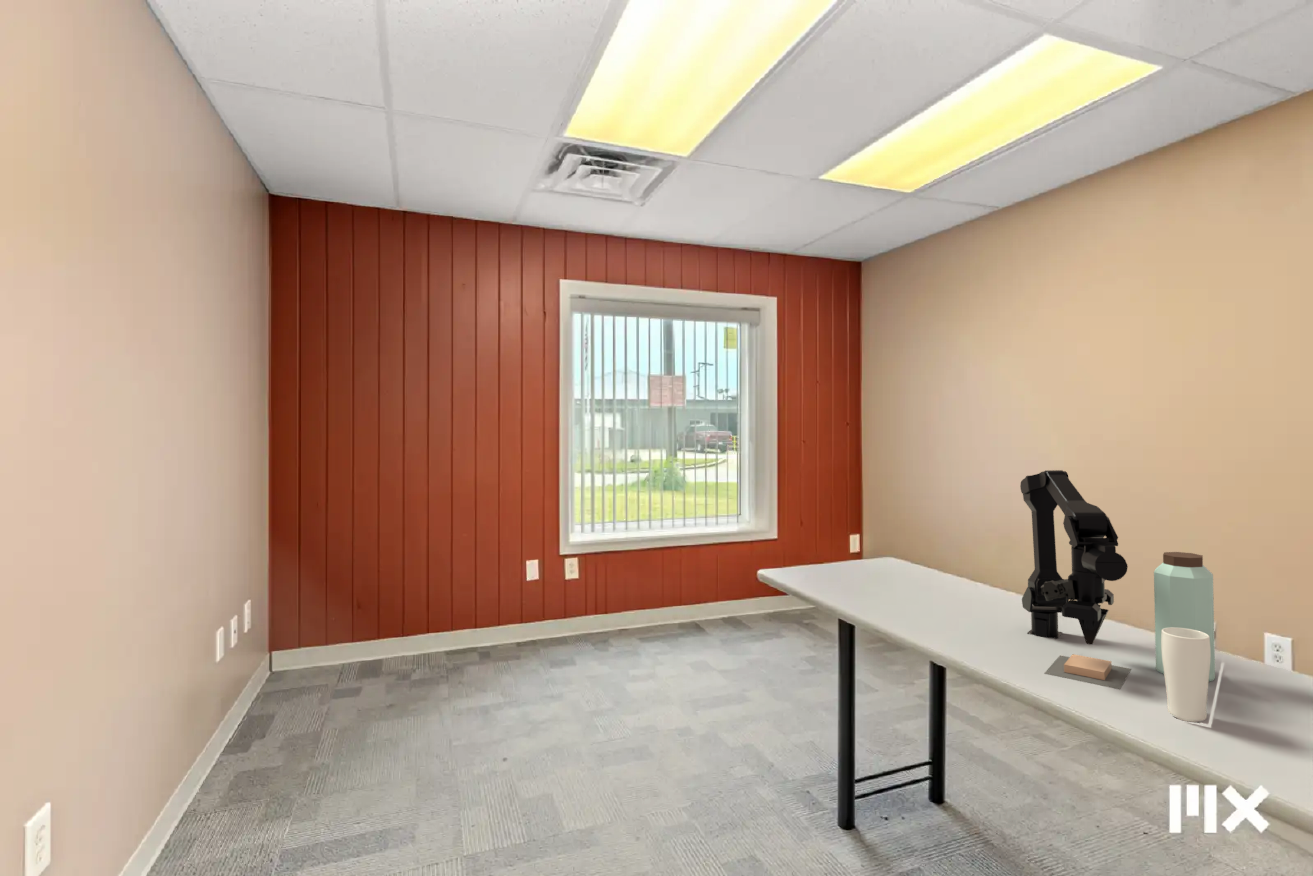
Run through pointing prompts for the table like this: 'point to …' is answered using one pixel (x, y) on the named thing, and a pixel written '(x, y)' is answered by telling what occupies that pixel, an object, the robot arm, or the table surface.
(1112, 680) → the mat
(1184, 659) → the drinking glass
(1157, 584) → the water bottle
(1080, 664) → the tile
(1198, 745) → the table surface
